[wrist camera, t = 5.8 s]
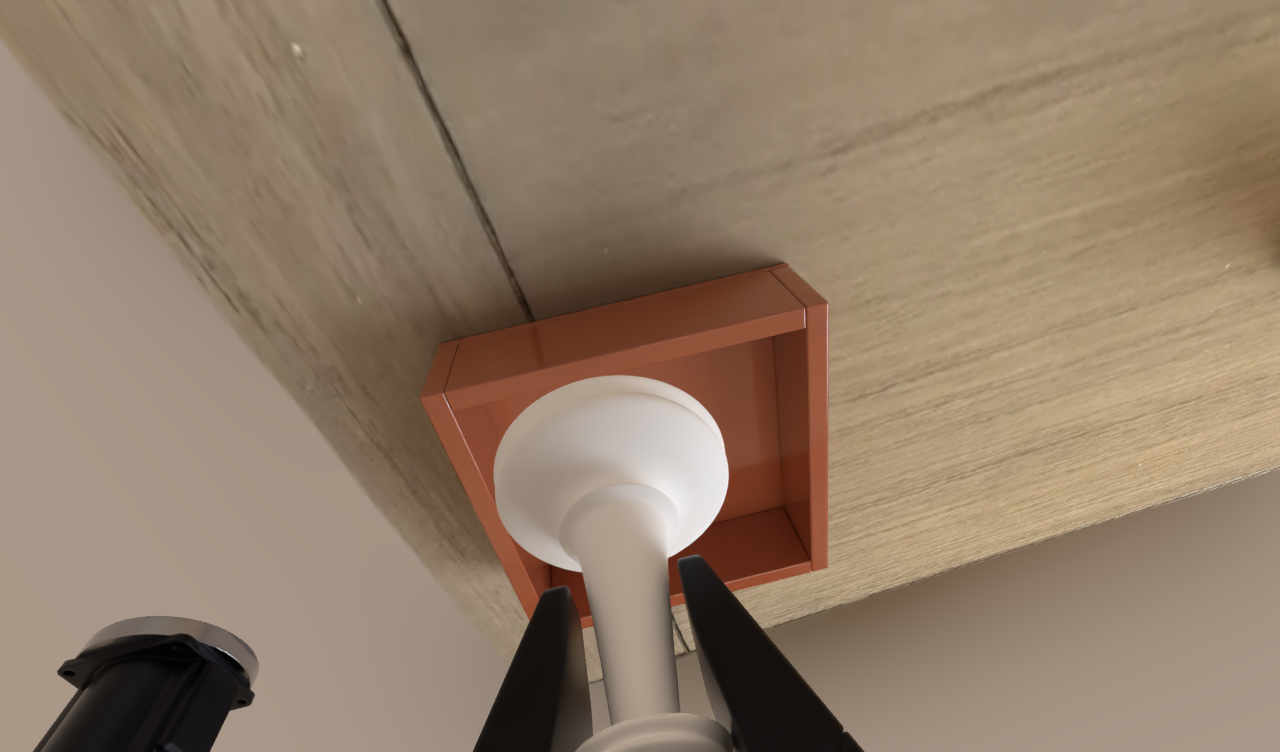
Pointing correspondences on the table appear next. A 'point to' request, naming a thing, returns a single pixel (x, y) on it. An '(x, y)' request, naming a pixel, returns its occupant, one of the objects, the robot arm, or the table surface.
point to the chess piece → (620, 533)
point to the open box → (693, 362)
